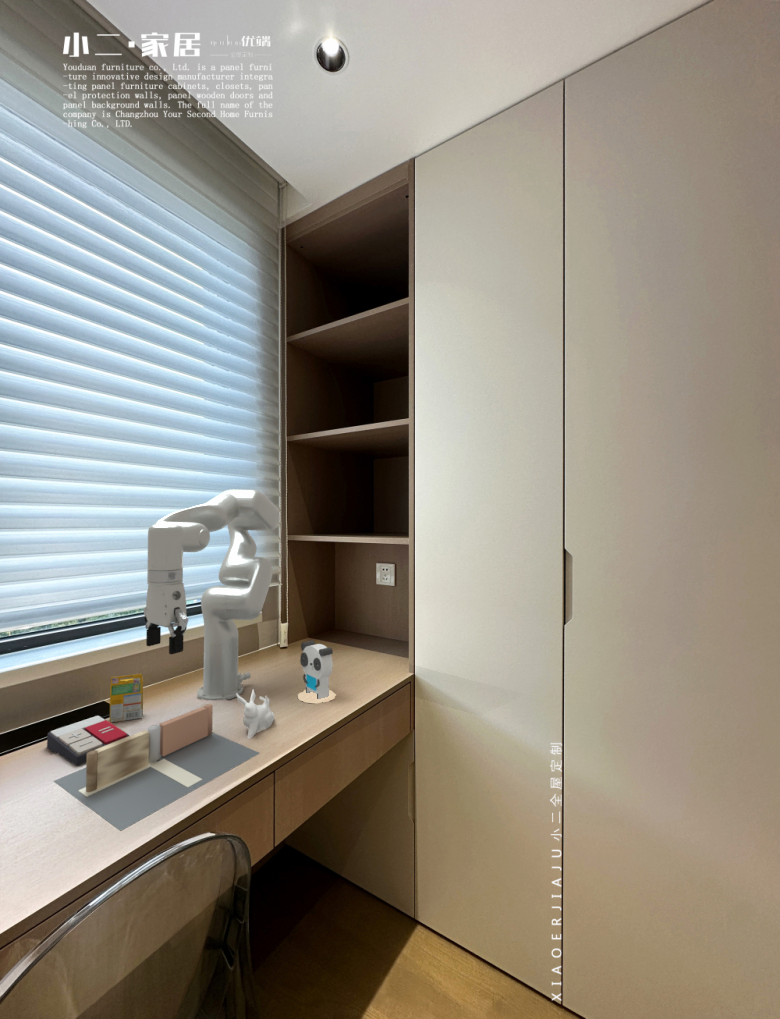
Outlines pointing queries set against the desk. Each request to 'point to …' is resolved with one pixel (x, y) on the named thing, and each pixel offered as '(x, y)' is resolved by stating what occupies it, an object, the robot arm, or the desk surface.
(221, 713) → the desk surface
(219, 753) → the mat
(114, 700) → the crayon box
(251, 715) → the rabbit figurine
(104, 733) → the calculator
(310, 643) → the panda figurine
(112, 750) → the panel
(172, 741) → the fence swing panel
